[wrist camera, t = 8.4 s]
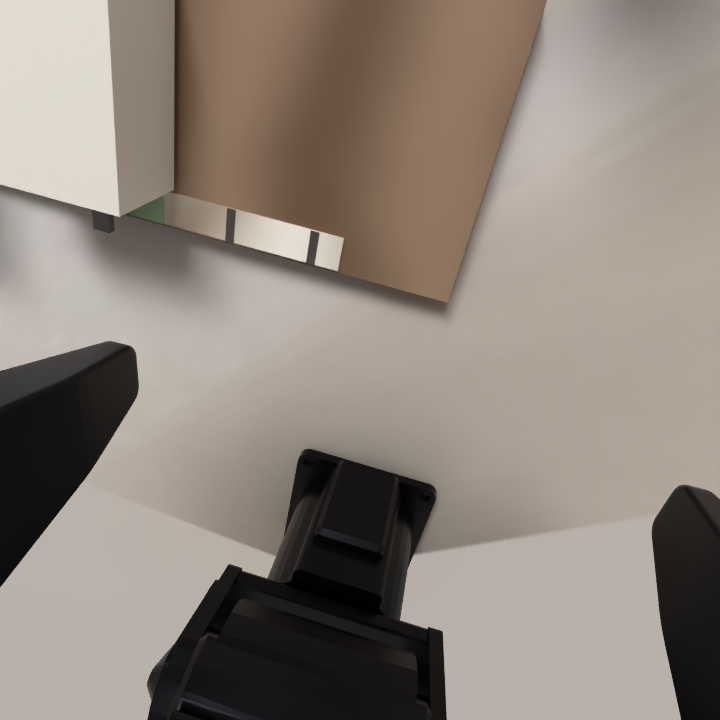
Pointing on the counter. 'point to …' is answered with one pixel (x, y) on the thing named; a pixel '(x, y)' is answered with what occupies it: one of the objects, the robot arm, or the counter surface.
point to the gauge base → (343, 128)
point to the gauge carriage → (88, 102)
